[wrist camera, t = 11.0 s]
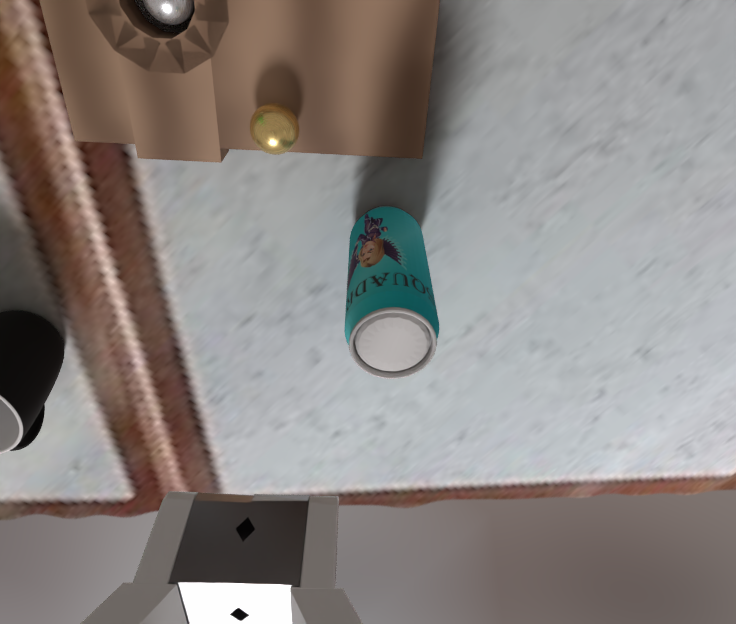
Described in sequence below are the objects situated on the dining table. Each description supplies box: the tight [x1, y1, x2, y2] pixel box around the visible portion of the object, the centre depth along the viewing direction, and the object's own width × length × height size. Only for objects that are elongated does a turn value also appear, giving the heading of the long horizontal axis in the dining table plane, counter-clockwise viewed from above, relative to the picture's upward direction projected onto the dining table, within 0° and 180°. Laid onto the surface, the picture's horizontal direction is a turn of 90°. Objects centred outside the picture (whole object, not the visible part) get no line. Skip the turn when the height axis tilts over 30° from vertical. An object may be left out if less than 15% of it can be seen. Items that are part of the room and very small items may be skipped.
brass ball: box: [250, 103, 299, 155], centre depth 36 cm, size 3×3×3 cm
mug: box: [0, 311, 64, 454], centre depth 47 cm, size 12×9×10 cm
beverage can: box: [345, 206, 439, 379], centre depth 38 cm, size 6×6×15 cm
